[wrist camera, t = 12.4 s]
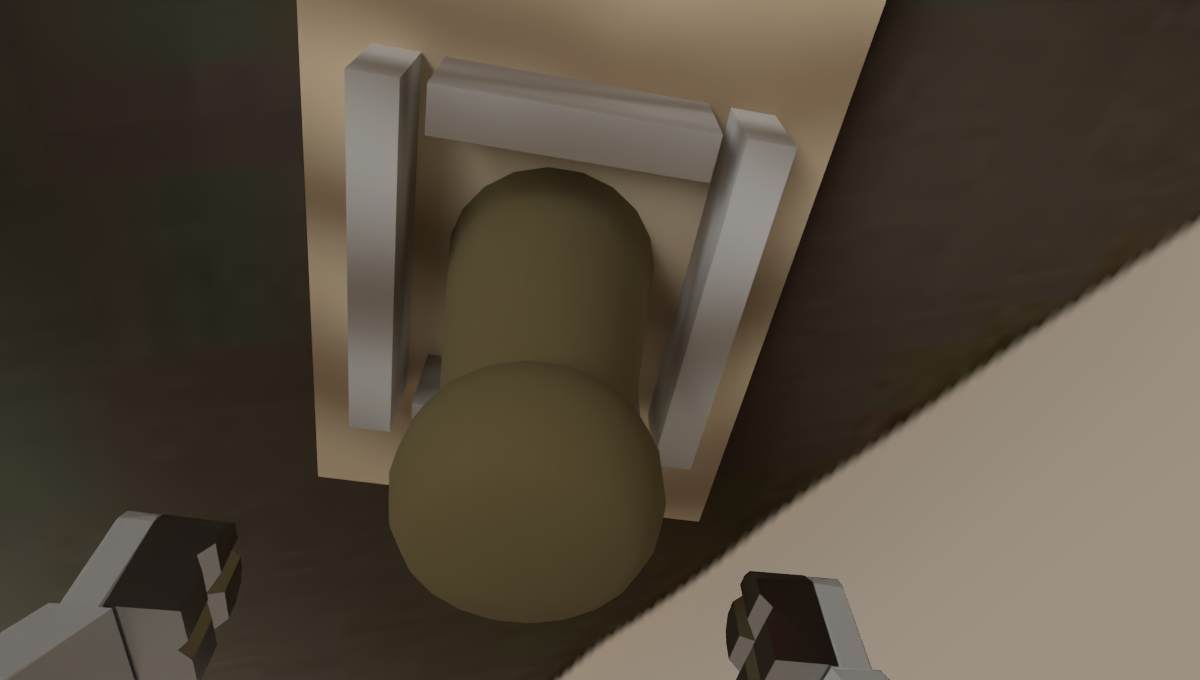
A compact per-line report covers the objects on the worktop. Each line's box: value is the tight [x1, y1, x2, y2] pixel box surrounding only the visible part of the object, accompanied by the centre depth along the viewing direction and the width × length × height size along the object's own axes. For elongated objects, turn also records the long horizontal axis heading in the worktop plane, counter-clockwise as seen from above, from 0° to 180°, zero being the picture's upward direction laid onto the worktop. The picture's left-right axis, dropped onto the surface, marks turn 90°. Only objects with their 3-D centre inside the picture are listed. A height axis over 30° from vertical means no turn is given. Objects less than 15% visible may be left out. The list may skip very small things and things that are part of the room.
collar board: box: [297, 0, 886, 522], centre depth 21 cm, size 20×14×4 cm
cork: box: [389, 167, 666, 623], centre depth 17 cm, size 6×6×11 cm
